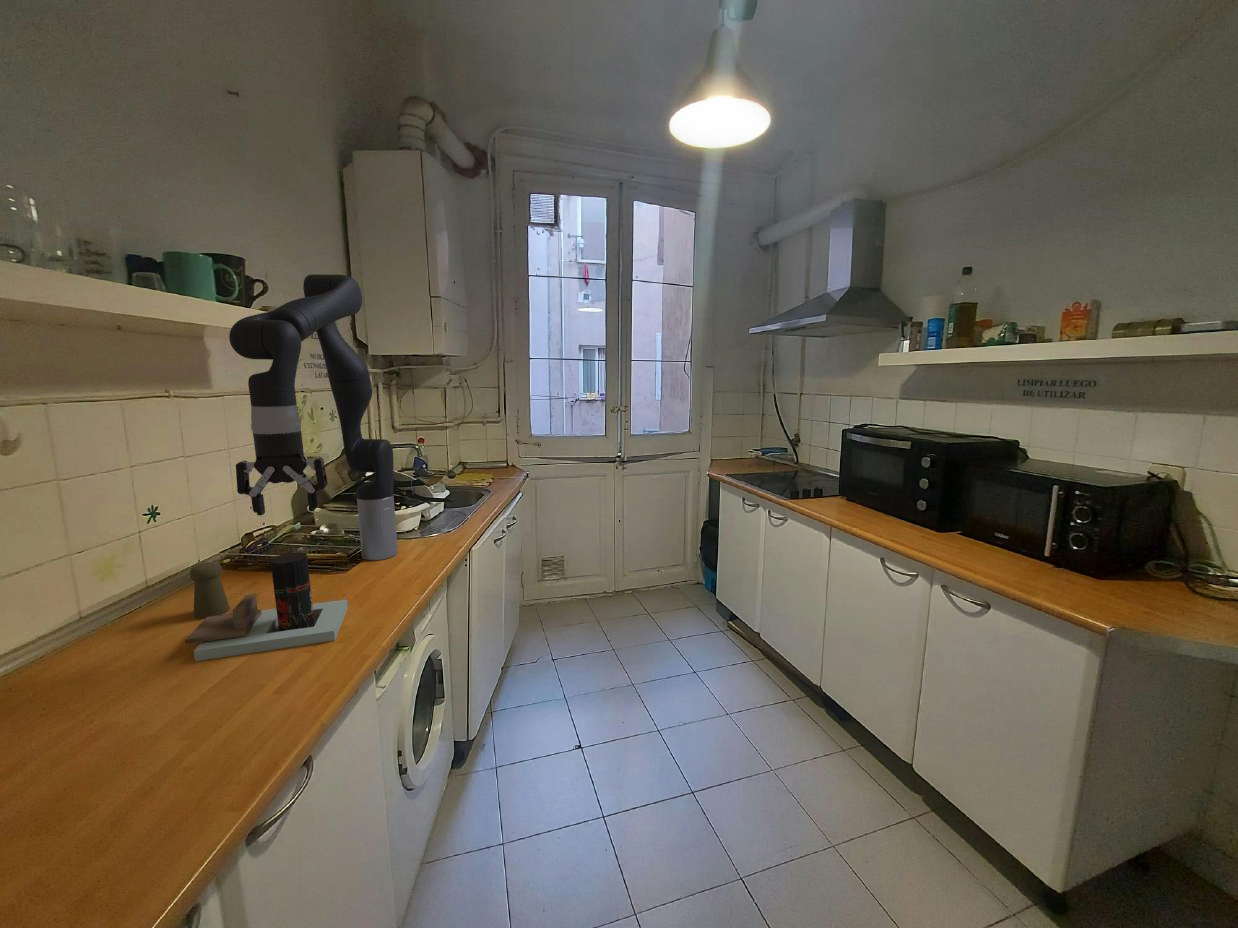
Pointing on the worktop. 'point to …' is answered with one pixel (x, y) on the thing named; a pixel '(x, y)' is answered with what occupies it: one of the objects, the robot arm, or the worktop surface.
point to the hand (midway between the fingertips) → (287, 512)
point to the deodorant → (292, 591)
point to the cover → (228, 622)
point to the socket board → (277, 633)
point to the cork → (208, 590)
